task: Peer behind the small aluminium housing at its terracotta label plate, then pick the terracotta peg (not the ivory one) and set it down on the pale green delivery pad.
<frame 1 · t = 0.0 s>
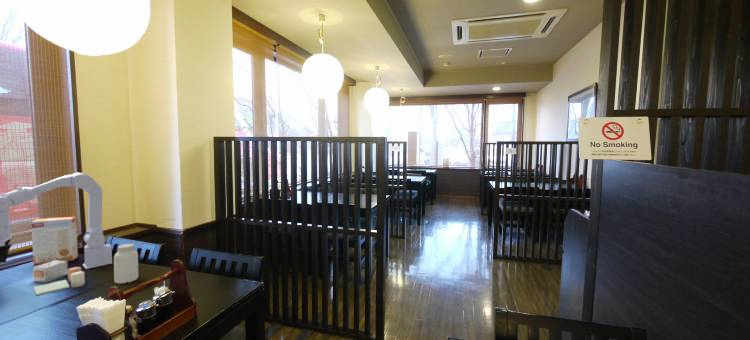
hand: (1, 260, 123), 10 cm above the table, tool pointing down, fingers open, 7 cm apart
ivory peg: (77, 285, 125), on the table
terracotta peg: (74, 280, 129), on the table
housing: (51, 277, 130), on the table
cracker box: (56, 261, 148), on the table
pad: (51, 288, 122), on the table
pill bottle: (126, 280, 131), on the table
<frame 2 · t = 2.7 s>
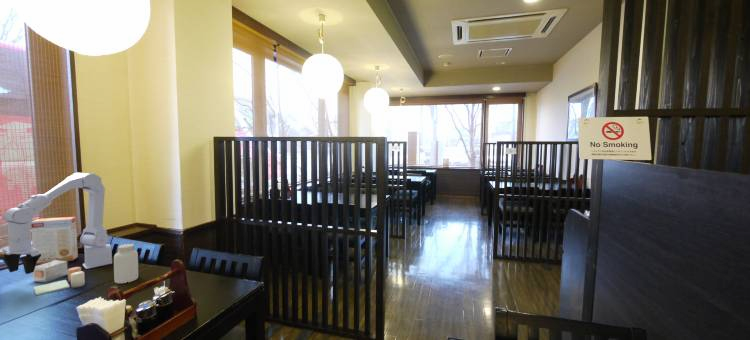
hand: (21, 272, 121), 6 cm above the table, tool pointing down, fingers open, 7 cm apart
nothing on the table moved.
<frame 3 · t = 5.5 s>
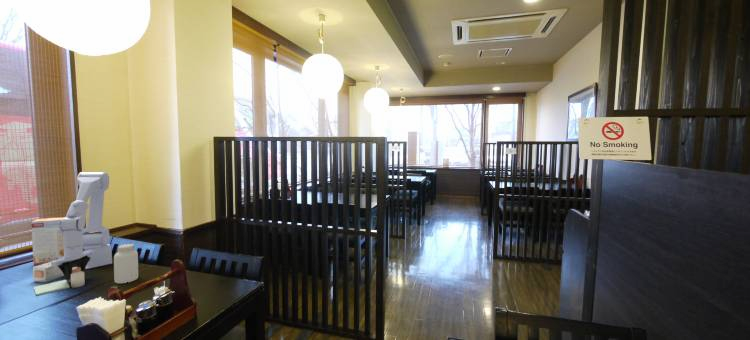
hand: (74, 276, 129), 1 cm above the table, tool pointing down, fingers closed on terracotta peg, 4 cm apart
terracotta peg: (74, 280, 129), on the table, touching gripper
everything else where it was.
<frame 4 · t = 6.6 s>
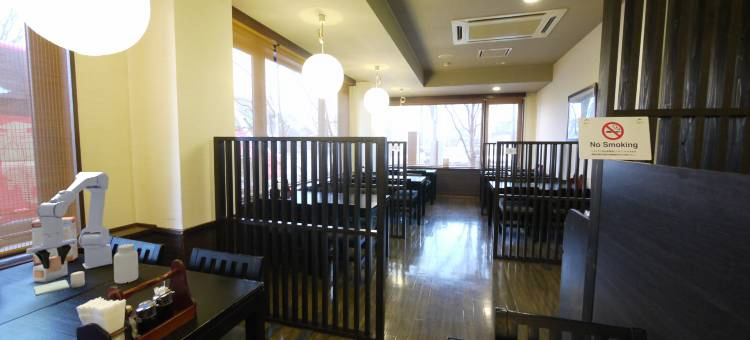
hand: (54, 266, 122), 9 cm above the table, tool pointing down, fingers closed on terracotta peg, 4 cm apart
terracotta peg: (54, 269, 122), point 7 cm above the table, touching gripper
everything else where it was.
when the fingers open (3 cm above the table, at t = 8.2 s): terracotta peg stays where it is, resting on pad.
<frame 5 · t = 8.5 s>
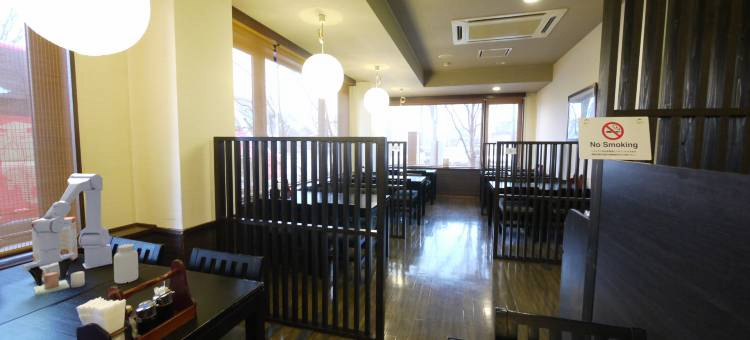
hand: (51, 281, 121), 3 cm above the table, tool pointing down, fingers open, 6 cm apart
terracotta peg: (51, 286, 122), point 1 cm above the table, touching pad
everything else where it was.
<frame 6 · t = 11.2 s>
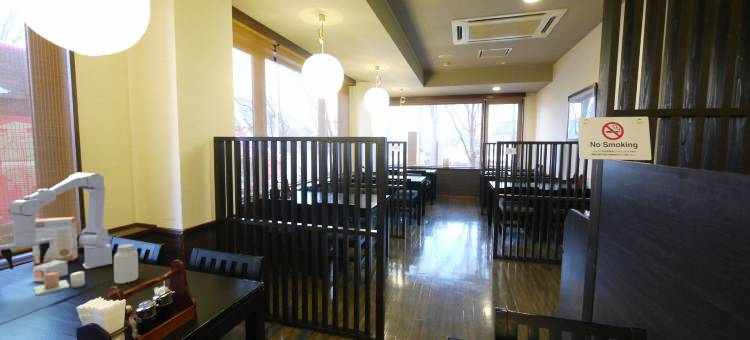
hand: (26, 265, 119), 10 cm above the table, tool pointing down, fingers open, 7 cm apart
nothing on the table moved.
at the end: terracotta peg inside the target area on the pad (0.1 cm from its centre), point 0.6 cm above the pad's base; terracotta peg tilted 1°; ivory peg moved 0.1 cm from its start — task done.
